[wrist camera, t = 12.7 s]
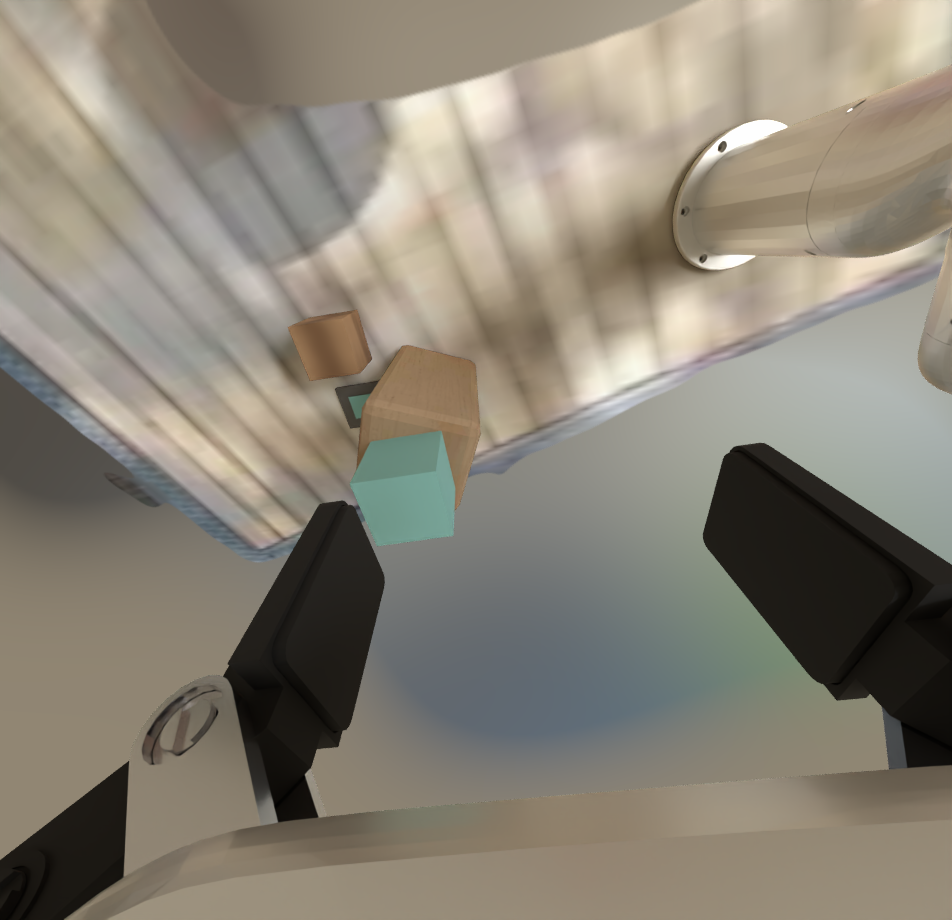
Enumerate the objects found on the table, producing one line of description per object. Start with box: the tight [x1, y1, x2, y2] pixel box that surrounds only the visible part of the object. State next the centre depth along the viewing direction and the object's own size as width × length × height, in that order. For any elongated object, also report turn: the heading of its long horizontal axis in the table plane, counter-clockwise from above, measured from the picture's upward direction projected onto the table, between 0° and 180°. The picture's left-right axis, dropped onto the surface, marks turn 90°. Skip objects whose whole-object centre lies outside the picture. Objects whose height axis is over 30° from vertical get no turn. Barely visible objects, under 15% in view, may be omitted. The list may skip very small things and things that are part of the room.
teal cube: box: [350, 431, 455, 546], centre depth 27 cm, size 6×6×6 cm
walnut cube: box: [288, 310, 372, 381], centre depth 41 cm, size 6×6×6 cm
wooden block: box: [356, 345, 481, 511], centre depth 38 cm, size 10×10×20 cm
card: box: [335, 381, 379, 428], centre depth 48 cm, size 6×6×1 cm
